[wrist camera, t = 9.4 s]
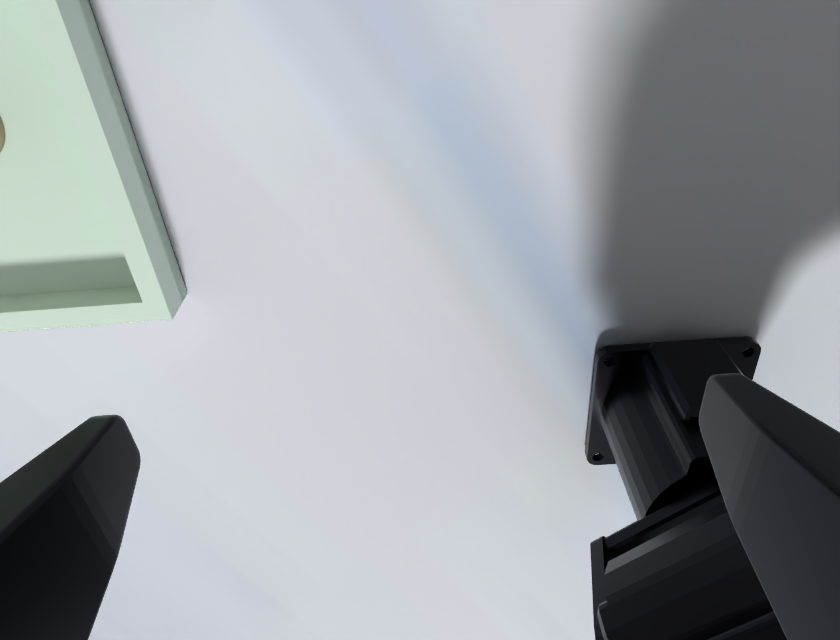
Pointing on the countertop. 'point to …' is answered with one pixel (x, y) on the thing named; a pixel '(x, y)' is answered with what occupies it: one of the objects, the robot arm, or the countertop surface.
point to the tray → (73, 182)
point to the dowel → (2, 135)
